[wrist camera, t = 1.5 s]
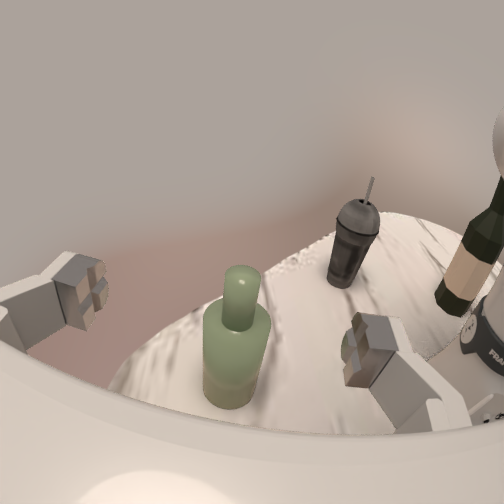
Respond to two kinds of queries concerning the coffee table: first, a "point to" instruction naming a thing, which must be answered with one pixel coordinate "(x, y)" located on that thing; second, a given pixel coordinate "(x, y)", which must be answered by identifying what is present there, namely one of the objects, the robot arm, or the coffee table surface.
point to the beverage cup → (352, 239)
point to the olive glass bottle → (234, 340)
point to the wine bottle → (473, 258)
